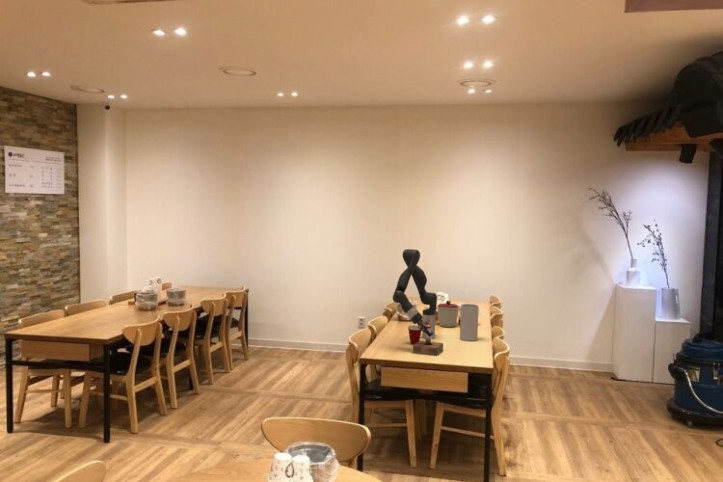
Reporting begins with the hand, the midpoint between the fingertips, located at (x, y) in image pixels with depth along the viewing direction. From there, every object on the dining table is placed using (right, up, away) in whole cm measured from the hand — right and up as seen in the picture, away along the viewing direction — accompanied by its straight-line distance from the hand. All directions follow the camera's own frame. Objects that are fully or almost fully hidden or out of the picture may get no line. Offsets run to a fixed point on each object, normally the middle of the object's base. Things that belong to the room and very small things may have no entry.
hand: (431, 335), depth 377 cm
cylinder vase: (+32, -10, +41) cm, 53 cm away
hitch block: (-2, -11, +1) cm, 11 cm away
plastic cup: (-9, -10, +24) cm, 27 cm away
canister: (+24, -7, +88) cm, 92 cm away
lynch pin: (-2, -6, +1) cm, 7 cm away
